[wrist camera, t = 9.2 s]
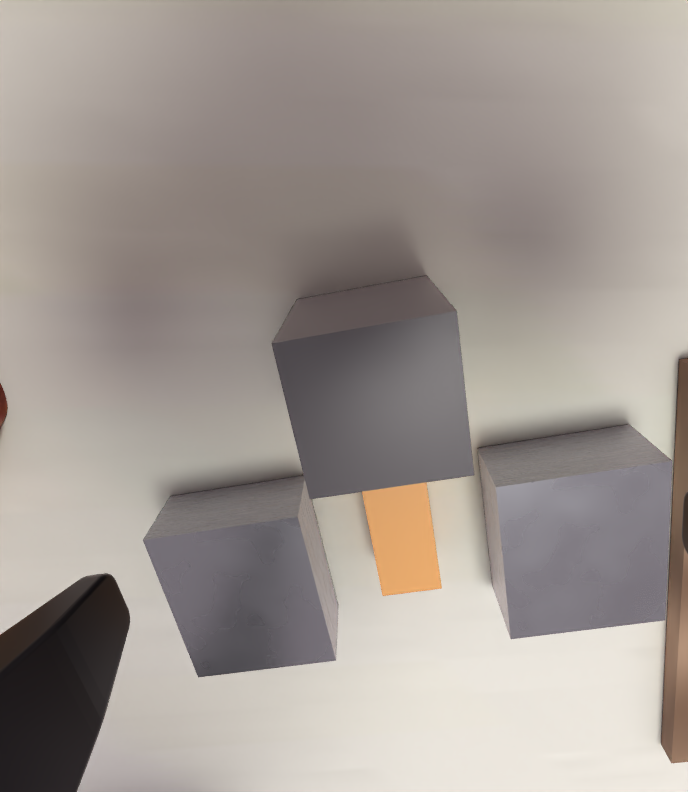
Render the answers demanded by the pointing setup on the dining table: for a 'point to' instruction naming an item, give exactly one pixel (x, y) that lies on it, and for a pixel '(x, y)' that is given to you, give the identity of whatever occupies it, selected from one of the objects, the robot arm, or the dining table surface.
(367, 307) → the plug
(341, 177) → the dining table surface
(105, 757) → the dining table surface
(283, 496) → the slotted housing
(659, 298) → the dining table surface
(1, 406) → the slice of bread
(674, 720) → the walnut board
